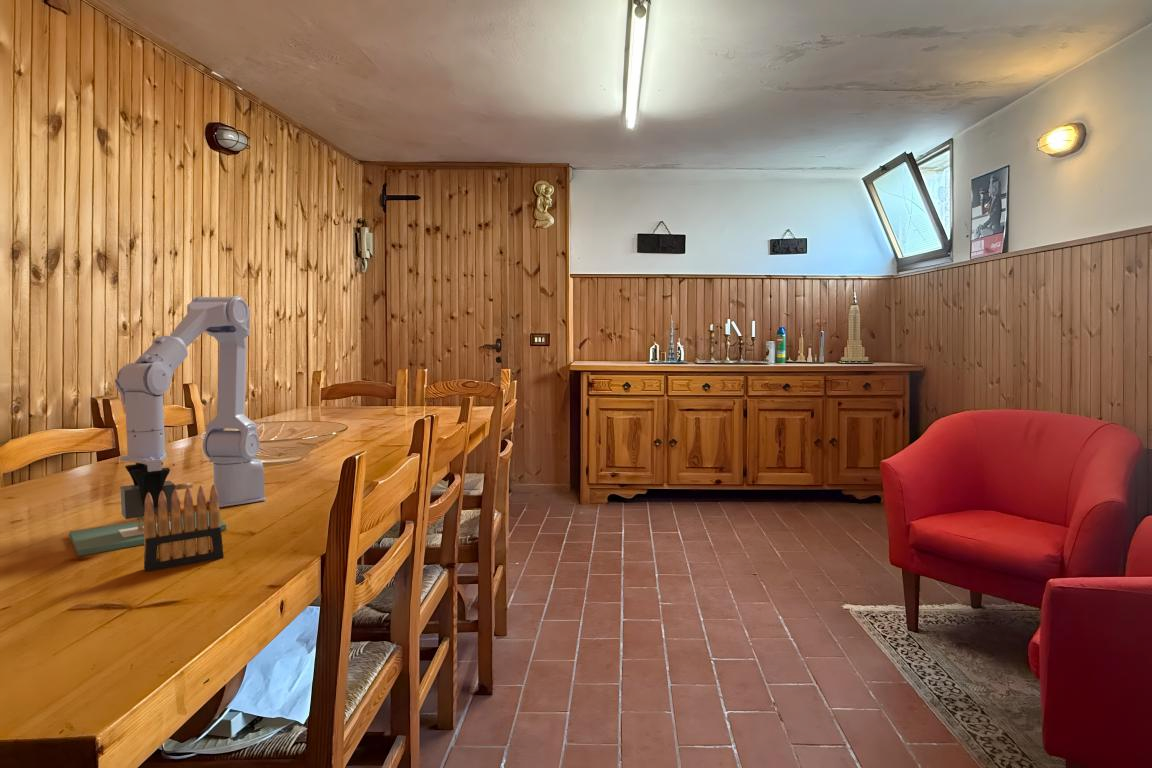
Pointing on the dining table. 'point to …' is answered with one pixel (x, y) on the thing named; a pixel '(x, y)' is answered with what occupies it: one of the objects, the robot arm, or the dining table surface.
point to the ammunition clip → (181, 531)
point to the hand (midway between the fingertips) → (149, 505)
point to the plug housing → (133, 500)
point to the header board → (113, 536)
